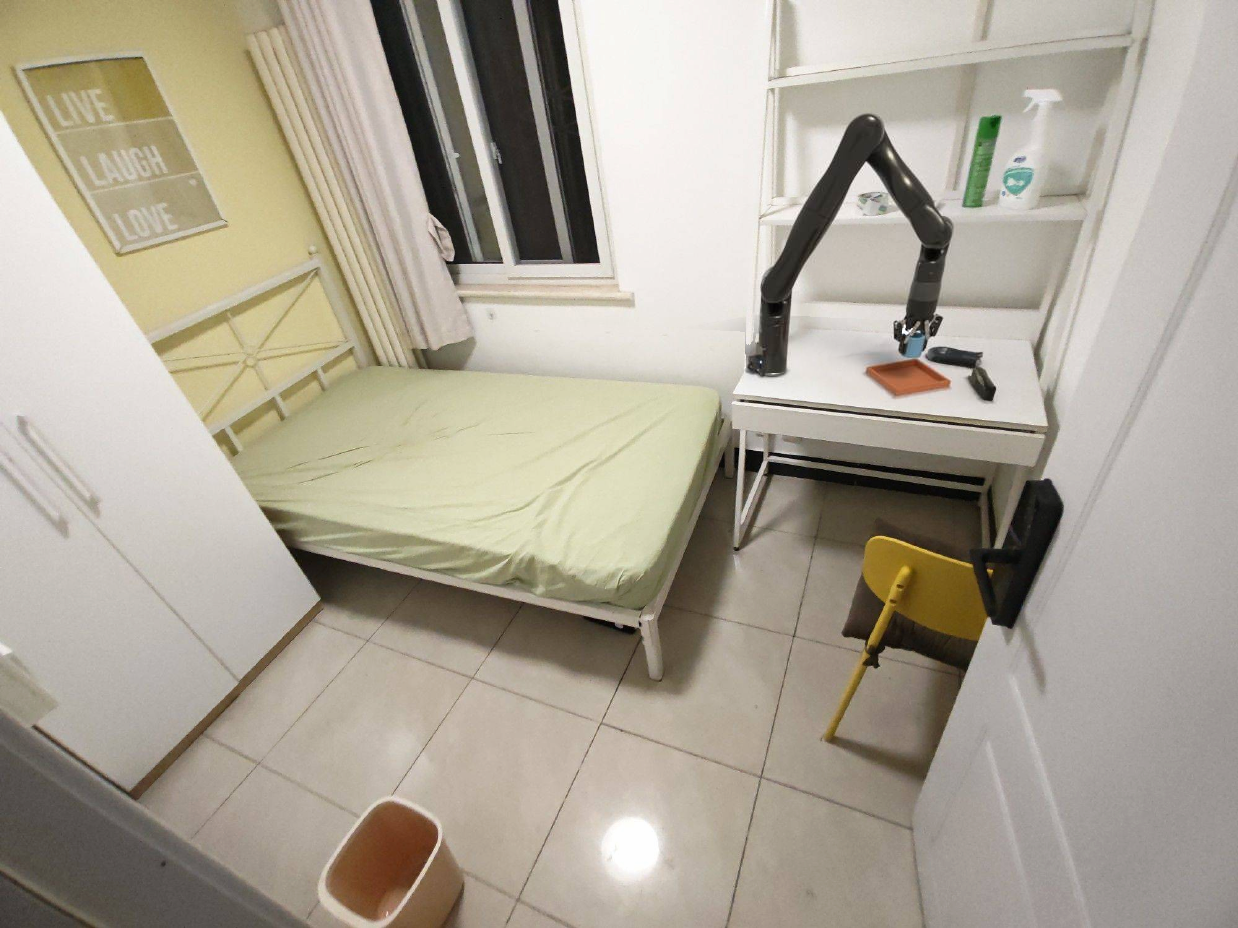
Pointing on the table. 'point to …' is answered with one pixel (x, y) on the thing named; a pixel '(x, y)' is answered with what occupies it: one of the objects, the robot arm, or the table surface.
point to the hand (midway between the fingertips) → (911, 352)
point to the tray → (907, 377)
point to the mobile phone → (982, 384)
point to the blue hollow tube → (915, 345)
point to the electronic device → (954, 356)
